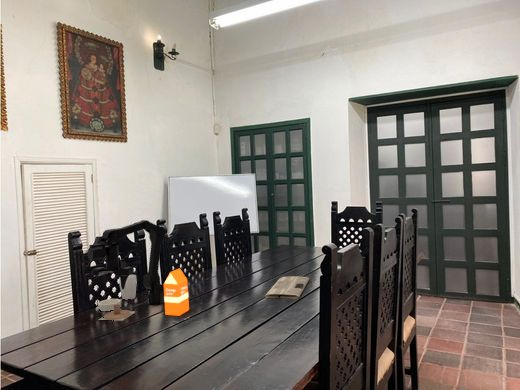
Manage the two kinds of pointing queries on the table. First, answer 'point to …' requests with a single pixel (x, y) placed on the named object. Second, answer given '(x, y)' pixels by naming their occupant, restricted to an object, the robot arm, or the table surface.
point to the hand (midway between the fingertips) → (114, 289)
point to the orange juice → (176, 293)
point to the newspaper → (288, 287)
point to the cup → (129, 287)
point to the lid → (117, 313)
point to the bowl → (108, 304)
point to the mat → (121, 318)
